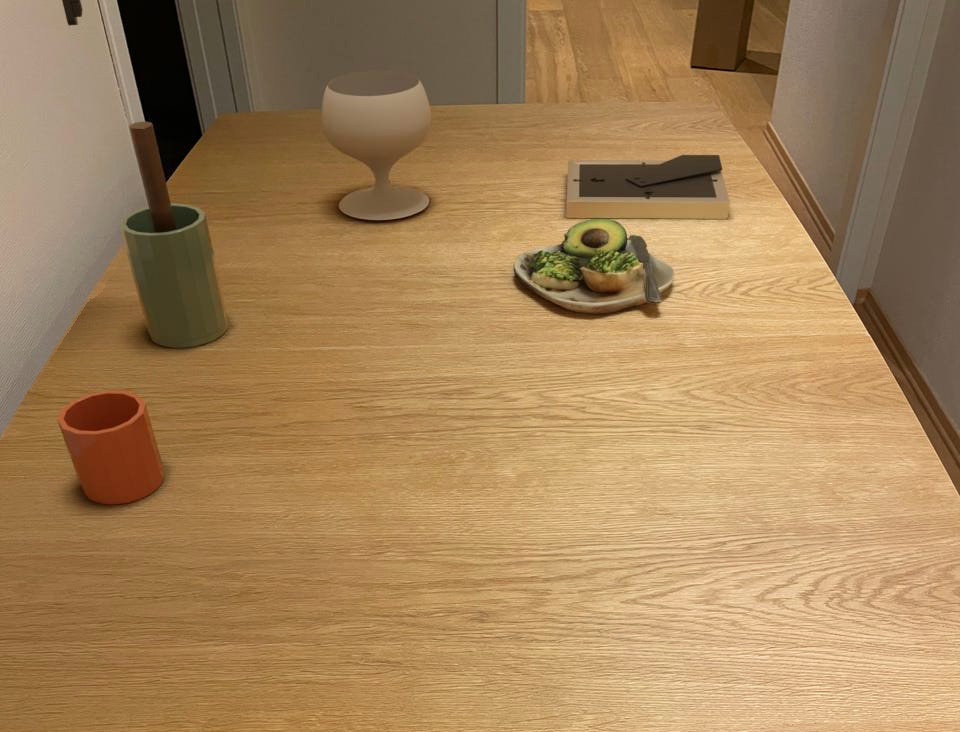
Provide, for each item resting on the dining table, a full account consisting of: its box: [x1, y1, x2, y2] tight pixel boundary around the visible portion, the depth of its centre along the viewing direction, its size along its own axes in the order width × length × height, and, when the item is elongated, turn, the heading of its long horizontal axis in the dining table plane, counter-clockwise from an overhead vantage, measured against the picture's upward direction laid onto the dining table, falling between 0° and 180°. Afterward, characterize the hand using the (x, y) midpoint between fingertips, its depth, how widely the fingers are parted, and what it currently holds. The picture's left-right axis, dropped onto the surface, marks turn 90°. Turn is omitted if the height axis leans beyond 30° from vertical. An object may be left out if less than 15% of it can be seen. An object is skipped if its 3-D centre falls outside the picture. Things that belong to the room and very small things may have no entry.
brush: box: [128, 121, 177, 233], centre depth 103 cm, size 4×4×20 cm
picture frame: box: [565, 154, 731, 220], centre depth 135 cm, size 16×3×21 cm
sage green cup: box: [119, 203, 229, 349], centre depth 106 cm, size 8×8×12 cm
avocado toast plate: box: [512, 218, 676, 315], centre depth 114 cm, size 19×18×5 cm
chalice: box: [321, 69, 432, 221], centre depth 131 cm, size 14×14×15 cm
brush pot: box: [57, 389, 165, 505], centre depth 87 cm, size 7×7×7 cm
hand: (24, 28), depth 91 cm, fingers open, 8 cm apart
